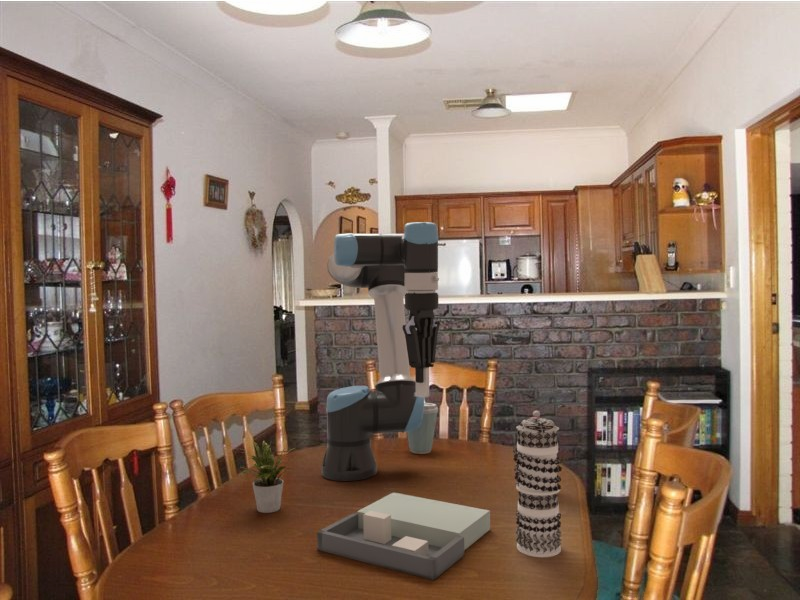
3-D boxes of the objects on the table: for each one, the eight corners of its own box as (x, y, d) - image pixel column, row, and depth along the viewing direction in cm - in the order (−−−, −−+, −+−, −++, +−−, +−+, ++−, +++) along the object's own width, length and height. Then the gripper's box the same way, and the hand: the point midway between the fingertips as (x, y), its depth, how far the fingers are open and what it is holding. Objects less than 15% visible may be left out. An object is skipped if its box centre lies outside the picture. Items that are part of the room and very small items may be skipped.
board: (357, 530, 136) (357, 511, 136) (393, 509, 148) (393, 492, 148) (459, 554, 123) (459, 533, 123) (490, 529, 135) (489, 510, 135)
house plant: (220, 509, 150) (218, 439, 150) (269, 494, 160) (268, 428, 160) (256, 524, 140) (254, 449, 140) (306, 507, 150) (304, 437, 150)
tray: (317, 549, 126) (317, 532, 126) (353, 529, 136) (353, 512, 136) (433, 580, 112) (433, 560, 112) (464, 555, 122) (464, 536, 122)
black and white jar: (511, 538, 130) (509, 415, 129) (557, 538, 129) (556, 414, 129) (518, 558, 121) (516, 425, 120) (568, 558, 120) (566, 424, 120)
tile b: (405, 536, 125) (406, 548, 125) (391, 545, 120) (392, 558, 120) (428, 541, 122) (428, 554, 122) (414, 550, 118) (415, 564, 118)
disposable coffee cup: (405, 446, 204) (404, 399, 203) (439, 447, 203) (439, 399, 202) (402, 455, 193) (401, 406, 193) (438, 456, 192) (437, 406, 192)
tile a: (370, 534, 132) (363, 539, 130) (370, 510, 132) (363, 514, 130) (391, 539, 129) (384, 543, 127) (390, 514, 129) (384, 518, 127)
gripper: (421, 293, 137) (422, 403, 138) (450, 290, 148) (450, 392, 149) (391, 292, 141) (392, 399, 142) (421, 290, 152) (422, 389, 153)
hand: (422, 396), depth 146 cm, fingers closed
